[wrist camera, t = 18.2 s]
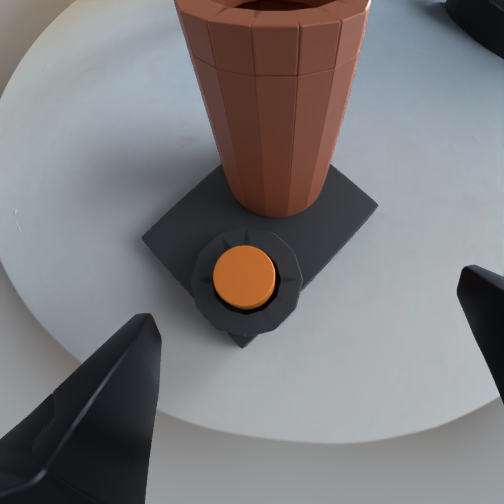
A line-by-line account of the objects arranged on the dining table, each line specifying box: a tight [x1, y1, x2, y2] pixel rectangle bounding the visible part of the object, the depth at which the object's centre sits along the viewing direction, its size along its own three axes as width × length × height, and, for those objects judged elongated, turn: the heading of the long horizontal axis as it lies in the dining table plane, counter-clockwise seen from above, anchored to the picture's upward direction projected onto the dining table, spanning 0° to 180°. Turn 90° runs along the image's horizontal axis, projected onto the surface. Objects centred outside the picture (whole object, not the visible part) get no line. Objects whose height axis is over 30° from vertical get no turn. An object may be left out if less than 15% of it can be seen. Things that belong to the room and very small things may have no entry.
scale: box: [142, 164, 378, 348], centre depth 20 cm, size 13×11×4 cm
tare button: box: [213, 246, 275, 309], centre depth 17 cm, size 3×3×2 cm
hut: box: [445, 0, 504, 59], centre depth 21 cm, size 18×18×15 cm
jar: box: [174, 0, 372, 218], centre depth 14 cm, size 7×7×14 cm
